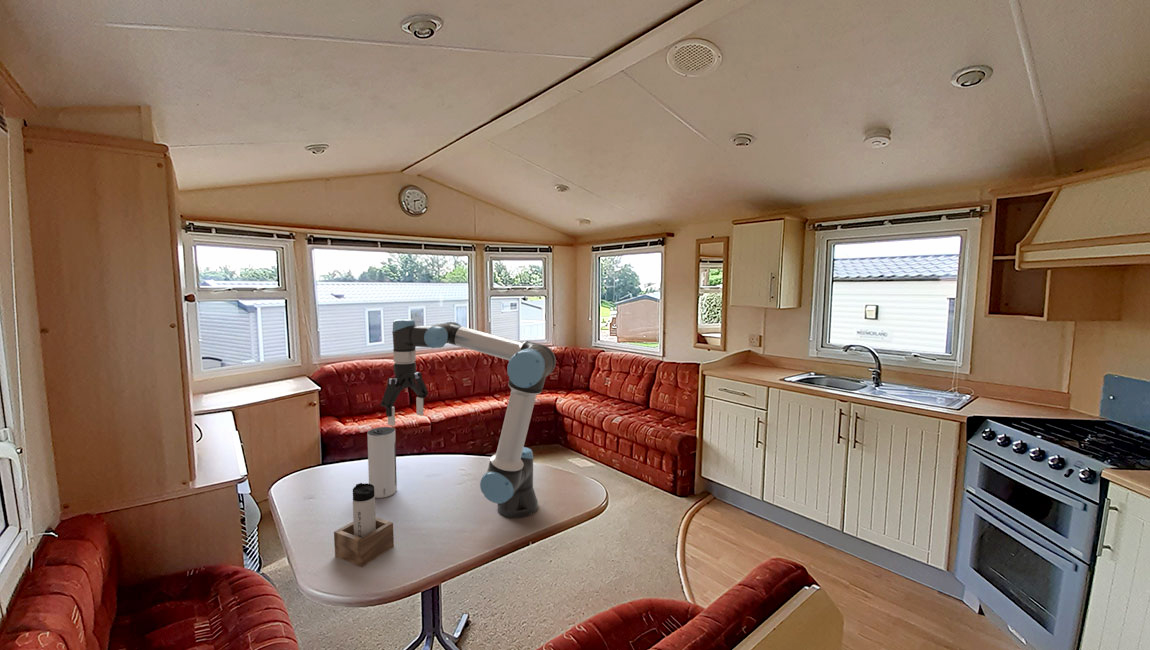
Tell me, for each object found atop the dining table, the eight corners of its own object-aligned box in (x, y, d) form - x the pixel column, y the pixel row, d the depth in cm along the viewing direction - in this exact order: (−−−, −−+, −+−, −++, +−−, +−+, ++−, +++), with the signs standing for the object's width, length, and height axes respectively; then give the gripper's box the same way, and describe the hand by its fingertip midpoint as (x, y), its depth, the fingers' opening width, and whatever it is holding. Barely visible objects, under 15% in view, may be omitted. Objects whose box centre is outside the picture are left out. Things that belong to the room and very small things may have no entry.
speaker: (397, 496, 180) (395, 432, 177) (368, 500, 176) (365, 435, 173) (396, 485, 190) (395, 424, 187) (369, 489, 186) (367, 427, 183)
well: (393, 546, 146) (393, 522, 145) (362, 567, 135) (361, 541, 135) (367, 536, 151) (366, 514, 151) (335, 556, 141) (333, 531, 140)
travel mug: (369, 539, 148) (367, 480, 146) (379, 546, 144) (378, 486, 142) (350, 547, 143) (348, 486, 141) (360, 556, 139) (358, 493, 137)
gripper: (422, 356, 176) (423, 409, 178) (368, 367, 154) (370, 427, 156) (437, 357, 173) (438, 412, 175) (384, 369, 151) (386, 431, 153)
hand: (406, 419), depth 165 cm, fingers open, 13 cm apart
